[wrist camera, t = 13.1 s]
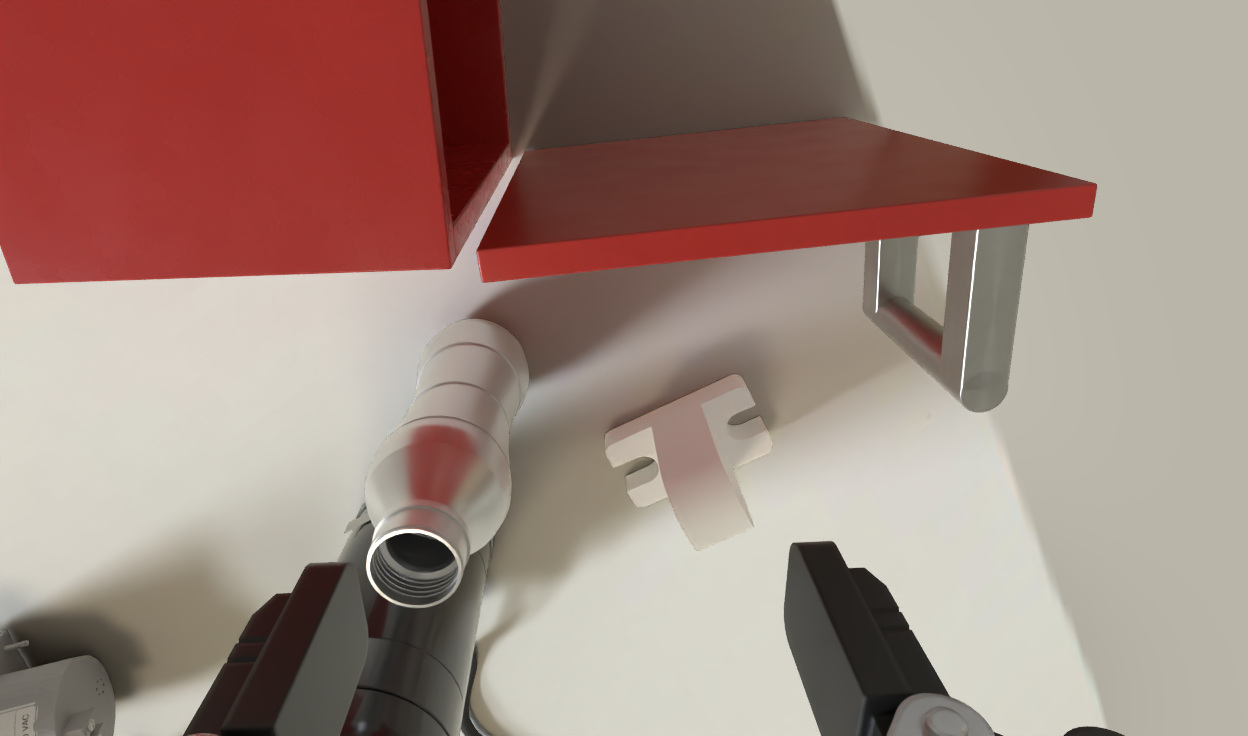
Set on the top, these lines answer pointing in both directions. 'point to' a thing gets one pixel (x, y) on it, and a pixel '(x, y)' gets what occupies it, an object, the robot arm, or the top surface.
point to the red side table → (800, 222)
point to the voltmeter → (53, 695)
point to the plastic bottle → (445, 464)
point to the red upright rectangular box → (246, 135)
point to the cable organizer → (694, 458)
